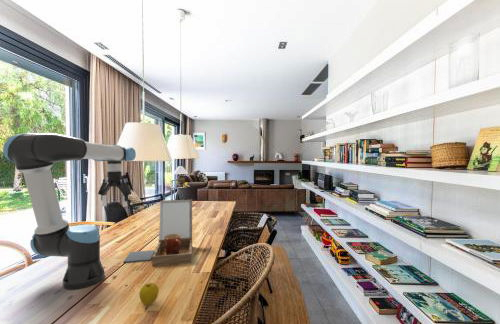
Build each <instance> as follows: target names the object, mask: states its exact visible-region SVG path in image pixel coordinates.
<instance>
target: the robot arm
mask: <svg viewBox="0 0 500 324" xmlns="http://www.w3.org/2000/svg"><path fill="white" fill-rule="evenodd" d="M2 153H3V155H4V157H5V159H7V161H9V162H10V163H11V162H12V163H14V165H15V168H16V171H19V172H21V173H22V174H23V178H24V181H25V185H26V188H27V192H28V195H29V200H30V204H31V205H32V206H31V207H32V210H33V211H32V212H33V214H34V218H35V221H36V225H37V227H36V228H35V229H34V233H33V234H32V236H31V238H32V239H30V248H31V251H32V252H33V253H35V254H36V255H38V256H43V257H61V258H63V257H65V258H66V257H67V267H66V270H65V273H64V275H63V278H62V287H63V288H64V289H66V290H78V289H79V290H80V289H84V288H88V287H91V286H94V285H97V284H98V283H99V282H101V281H102V280H103V279H104V278H105V268H104V266H103V264H102V262H101V257H100V255H101V252H100V251H101V249H100V247H101V244H100V243H101V234H100V229H99V228H98V226H95V225H92V224H83V225H82V224H80V225H79V224H78V225H73V226H69V222H68V221H67V220H65V219H63V215H62V209H61V207H60V203H59V199H58V193H57V190H56V186H55V183H54V178H53V174H52V170H51V169H52V167H53V166H54V165H55V163H60V162H68V161H75V162H77V161H82V160H83V159H84V160H93V161H94V162H107V163H106V164H107V165H106V167H107V168H106V170H107V172H106V176H107V178H103V179H102V184H101V186H100V187H99V190H98V192H97V195H100V196H101V197H100V200H101V201H102V202H101V206H102V207H107V203H108V202H107V200H108V199H107V193H108V192H109V190H110V189H111V188H112V187H114V188H115V187H117V188H118V189H119V190H120V192H121V193H122V194H123V196H122V207H123V208H125V207H128V201H129V196H130V195H132V191H131V189H130V188H129V187H130V186H129V184H128V183H127V179H126V178H122V174H123V173H122V169H123V168H122V162H133V161H134V160H135V158H136V156H137V155H136V154H137V153H136V150H135V149H134V148H133V147H123V146H121V145H119V144H118V145H117V144H116V145H115V144H110V145H109V144H102V143H97V142H89V141H85V140H84V139H83V138H79V137H73V136H69V135H64V134H59V133H53V132H52V133H51V132H44V133H43V132H42V133H39V132H38V133H33V132H32V133H31V132H28V133H27V132H26V133H18V134H14V135H12V136H10V137H8V138H7V140H6V141H5V142H4V143H3V146H2Z"/></svg>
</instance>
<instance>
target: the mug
mask: <svg viewBox="0 0 500 324" xmlns="http://www.w3.org/2000/svg"><path fill="white" fill-rule="evenodd" d="M180 237H181V235H179V234H169V235H166V236H165V237H164V239H165V242H166V249H165V255H172V254H180V250H181V249H182V248H181V241H180Z"/></svg>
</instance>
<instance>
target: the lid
mask: <svg viewBox="0 0 500 324" xmlns="http://www.w3.org/2000/svg"><path fill="white" fill-rule="evenodd" d="M159 204H160V205H159V206H160V207H159V227H158V228H159V229H158V230H159V232H158V233H159V234H158V241H159V240H165V239H164V237H165V236H166V235H169V234H179V235H181V237H180V238H192V239H193V199H176V200H175V199H173V200H172V199H171V200H168V199H167V200H160V203H159Z"/></svg>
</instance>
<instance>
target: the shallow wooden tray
mask: <svg viewBox="0 0 500 324" xmlns="http://www.w3.org/2000/svg"><path fill="white" fill-rule="evenodd" d="M180 241H181V248H180V249H188V248H189V250H188V252H186V253H179V254H172V255H166V254H163V255H160V253H161V251H162V250H163V251H164V250H165V251H166V242H165V240H159V239H158V243H157V245H156V247H155V252H154V254H153V256H152V258H151V267H156V266H157V267H158V266H167V265H178V264H188V263H192V261H193V258H192V257H193V237H192V238H180Z"/></svg>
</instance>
